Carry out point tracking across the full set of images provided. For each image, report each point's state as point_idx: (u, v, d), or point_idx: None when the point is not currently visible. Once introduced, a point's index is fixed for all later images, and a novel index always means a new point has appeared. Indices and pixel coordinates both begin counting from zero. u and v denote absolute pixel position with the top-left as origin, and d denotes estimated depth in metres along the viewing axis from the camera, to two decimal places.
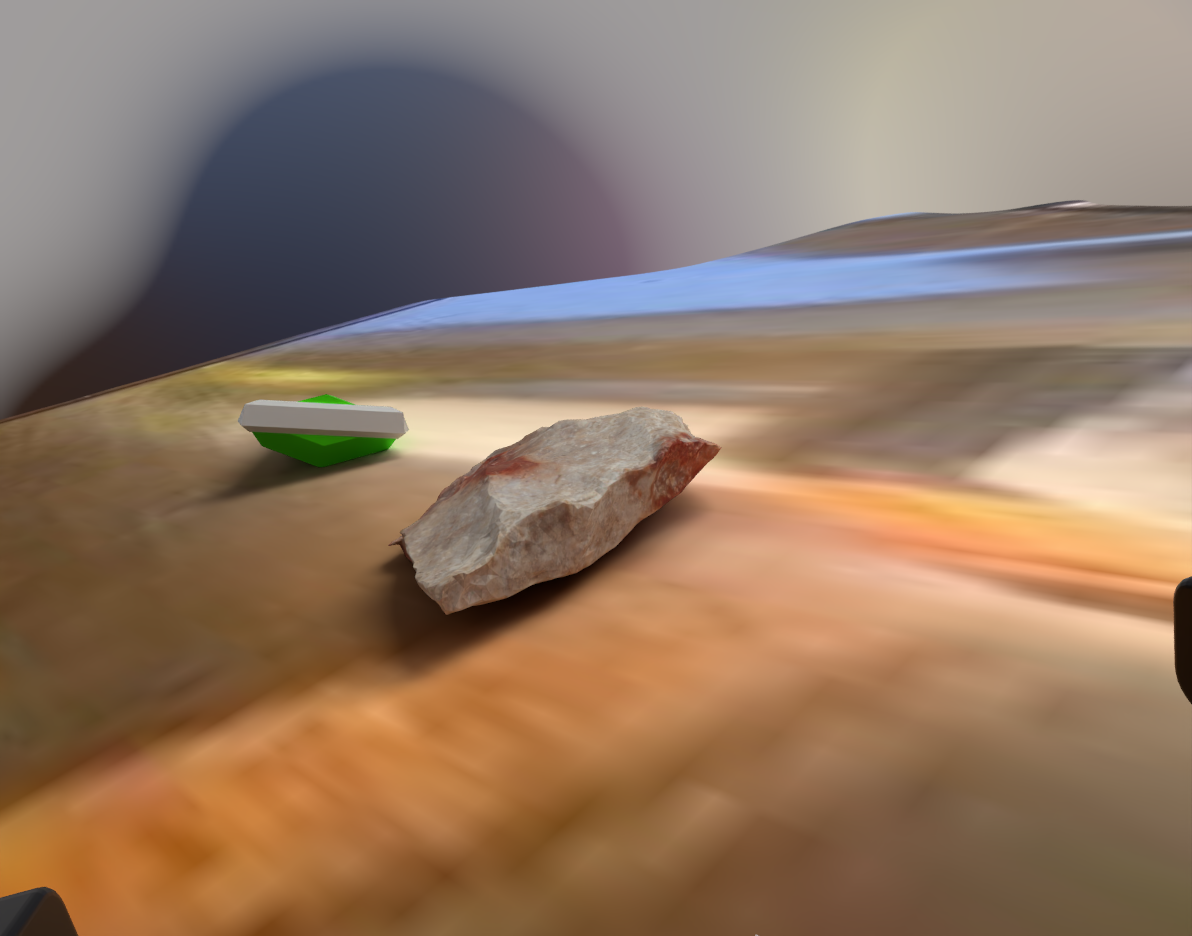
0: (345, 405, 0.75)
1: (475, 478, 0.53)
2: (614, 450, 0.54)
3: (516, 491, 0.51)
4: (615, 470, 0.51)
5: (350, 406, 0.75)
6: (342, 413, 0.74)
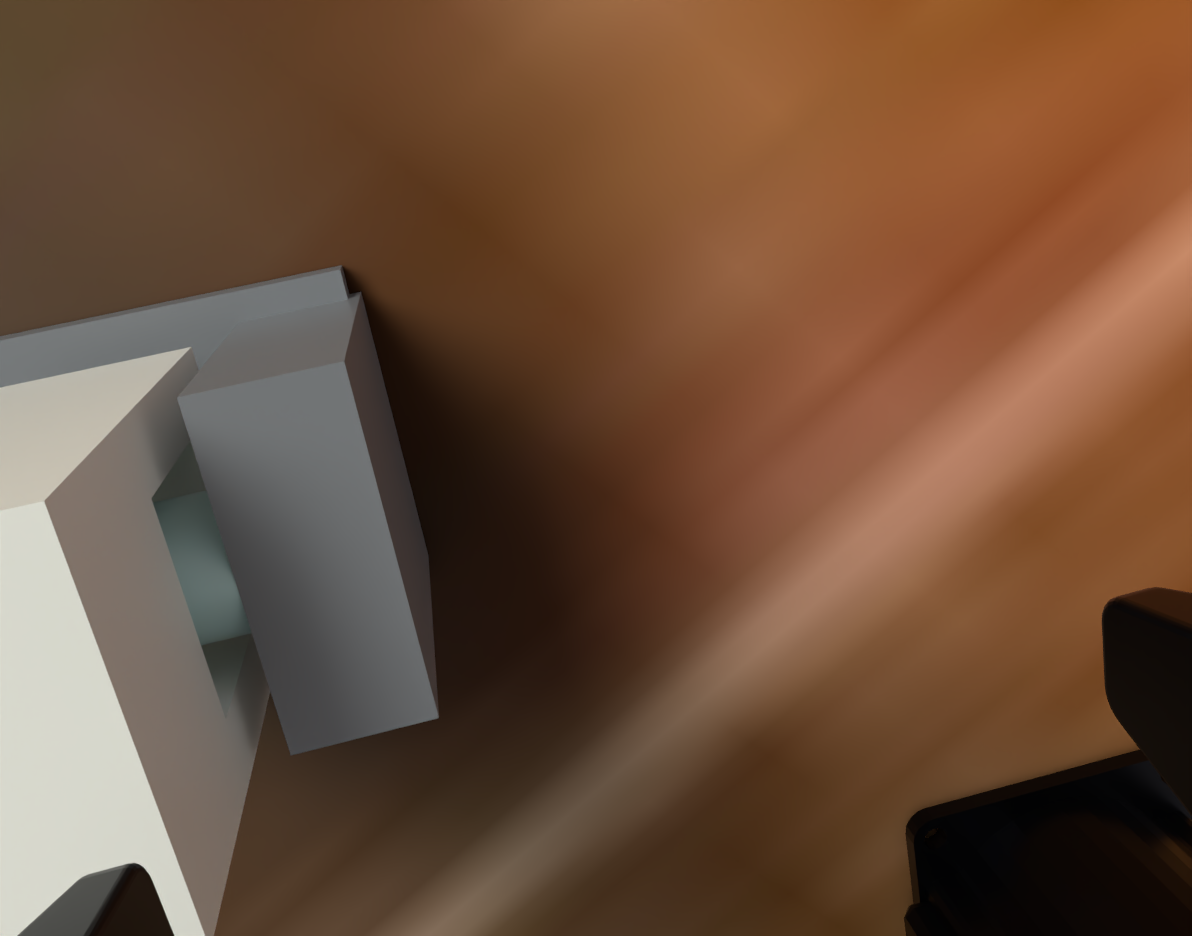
0: None
1: None
2: None
3: None
4: None
5: None
6: None
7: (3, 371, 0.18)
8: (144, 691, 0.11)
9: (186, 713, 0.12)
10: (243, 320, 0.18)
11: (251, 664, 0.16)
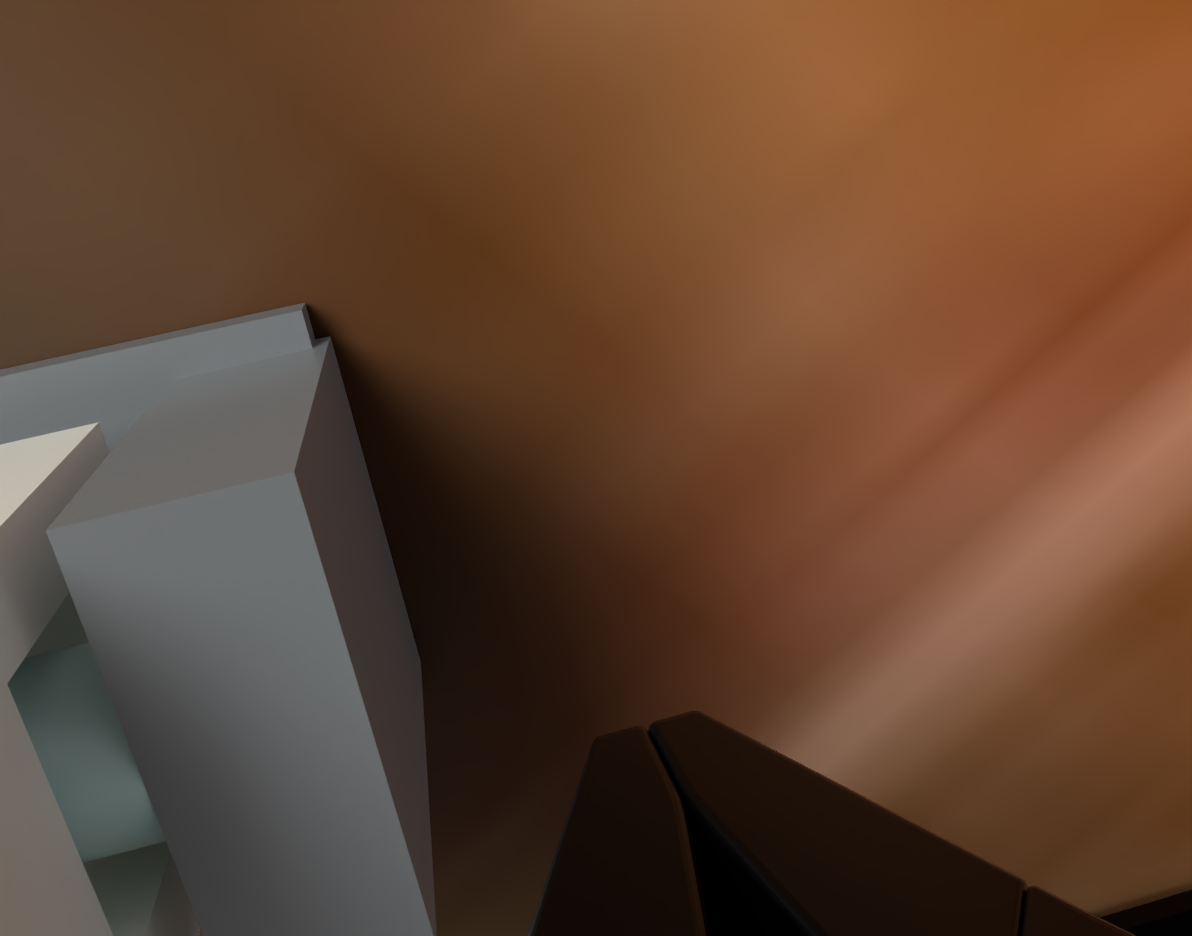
0: None
1: None
2: None
3: None
4: None
5: None
6: None
7: None
8: None
9: None
10: (175, 377, 0.14)
11: None
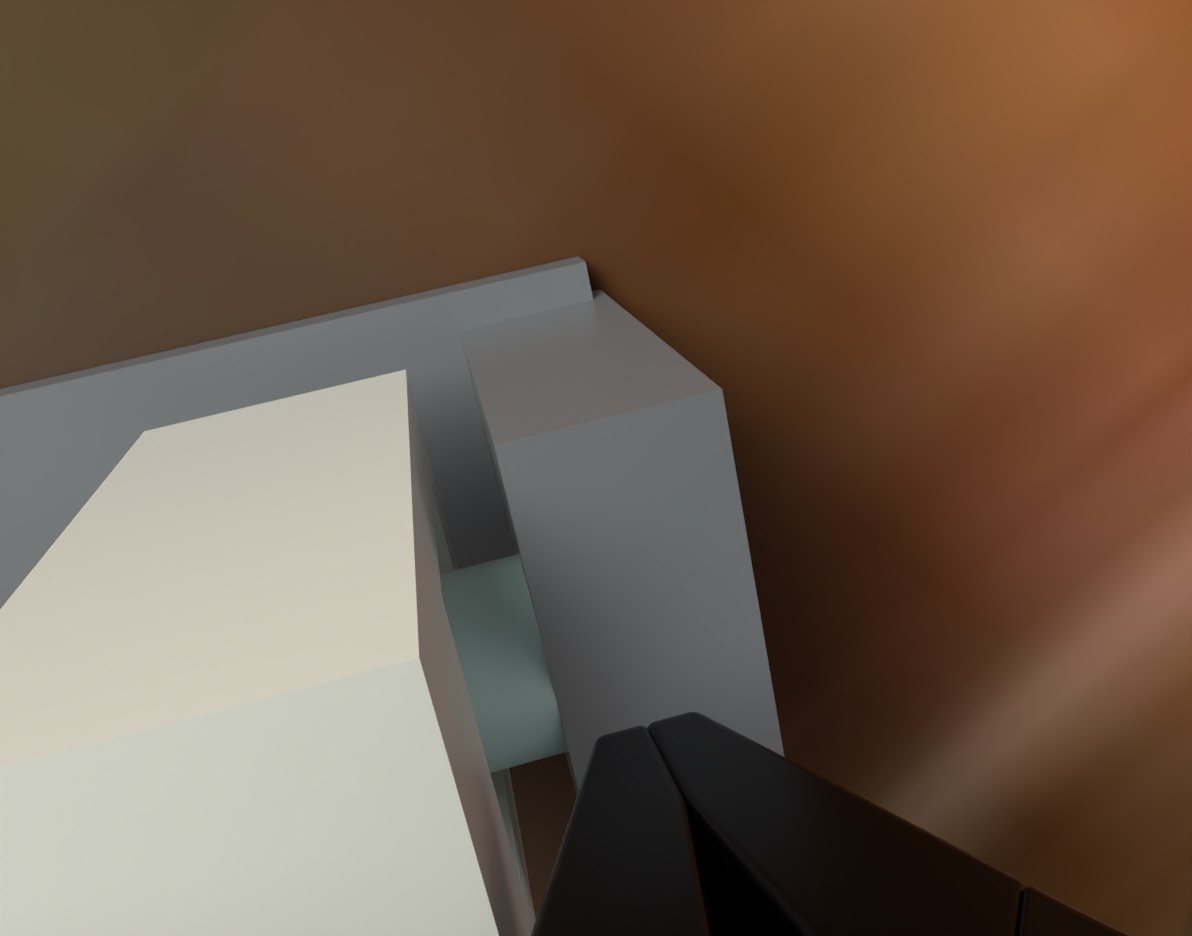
0: None
1: None
2: None
3: None
4: None
5: None
6: None
7: (164, 398, 0.14)
8: (504, 912, 0.07)
9: (517, 914, 0.09)
10: (463, 328, 0.14)
11: (507, 789, 0.12)
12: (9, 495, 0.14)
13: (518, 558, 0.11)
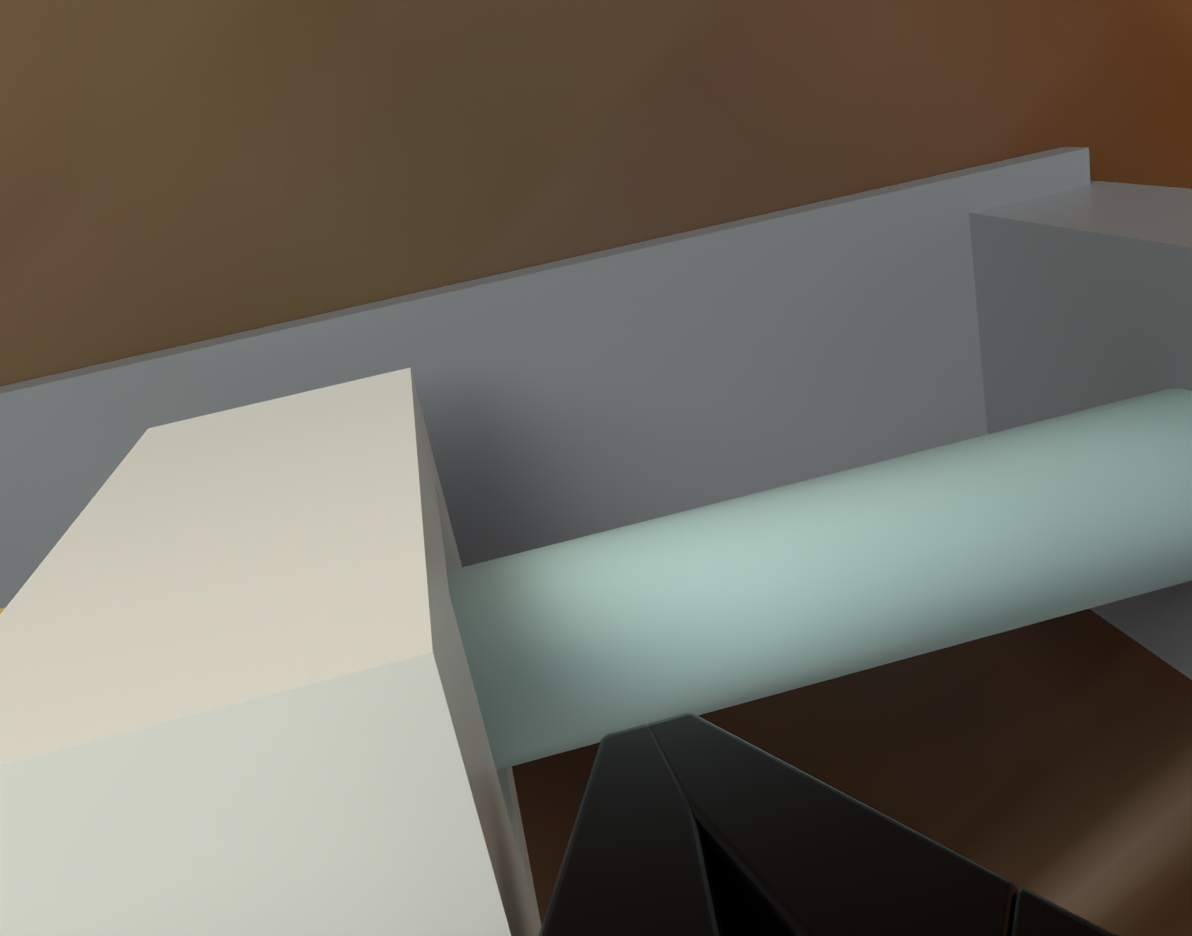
0: None
1: None
2: None
3: None
4: None
5: None
6: None
7: (702, 272, 0.15)
8: (513, 909, 0.07)
9: (523, 909, 0.09)
10: (973, 210, 0.15)
11: (511, 787, 0.12)
12: (553, 365, 0.15)
13: (1182, 389, 0.12)
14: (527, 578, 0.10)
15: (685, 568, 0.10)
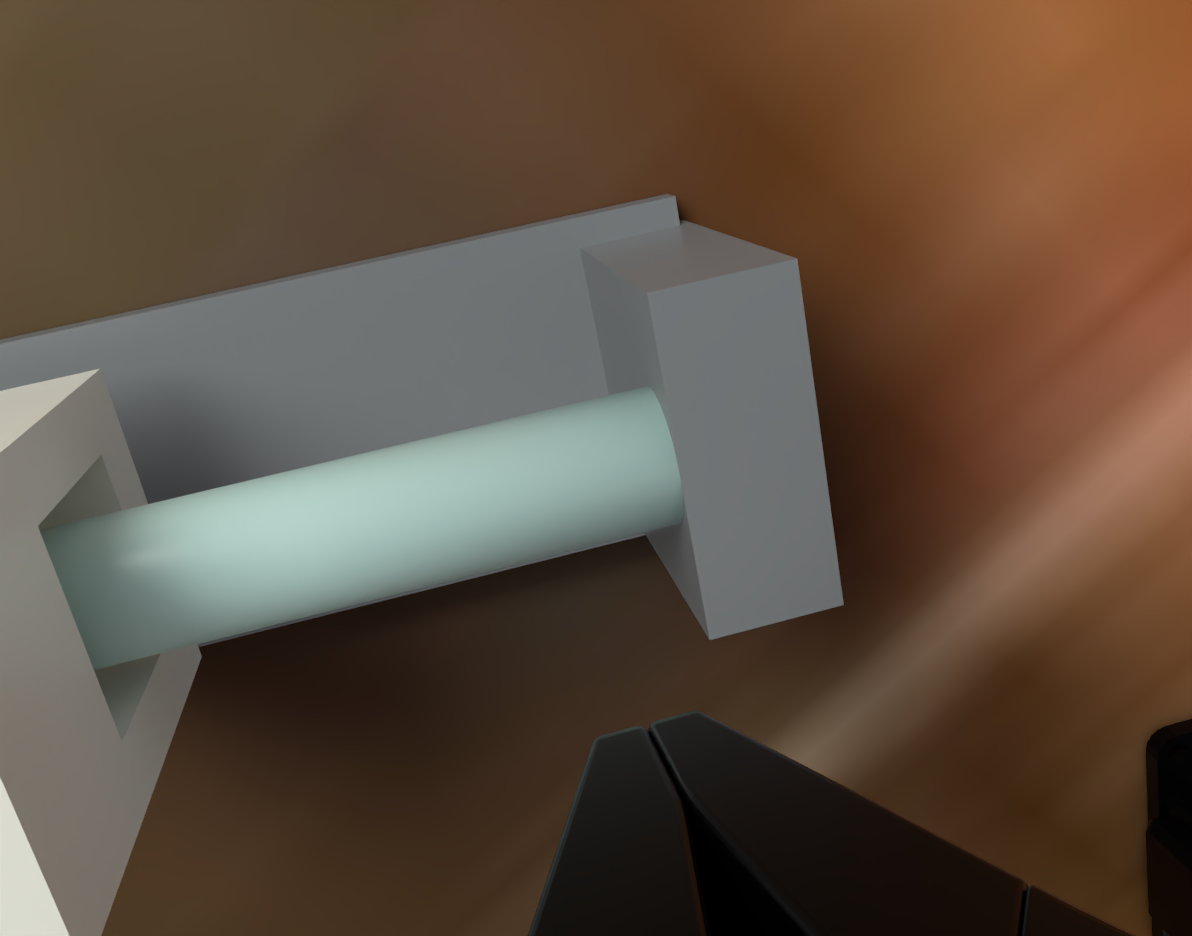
0: None
1: None
2: None
3: None
4: None
5: None
6: None
7: (361, 294, 0.19)
8: (17, 721, 0.11)
9: (71, 739, 0.13)
10: (583, 245, 0.19)
11: (159, 684, 0.16)
12: (244, 367, 0.19)
13: (648, 386, 0.15)
14: (132, 521, 0.14)
15: (244, 514, 0.14)
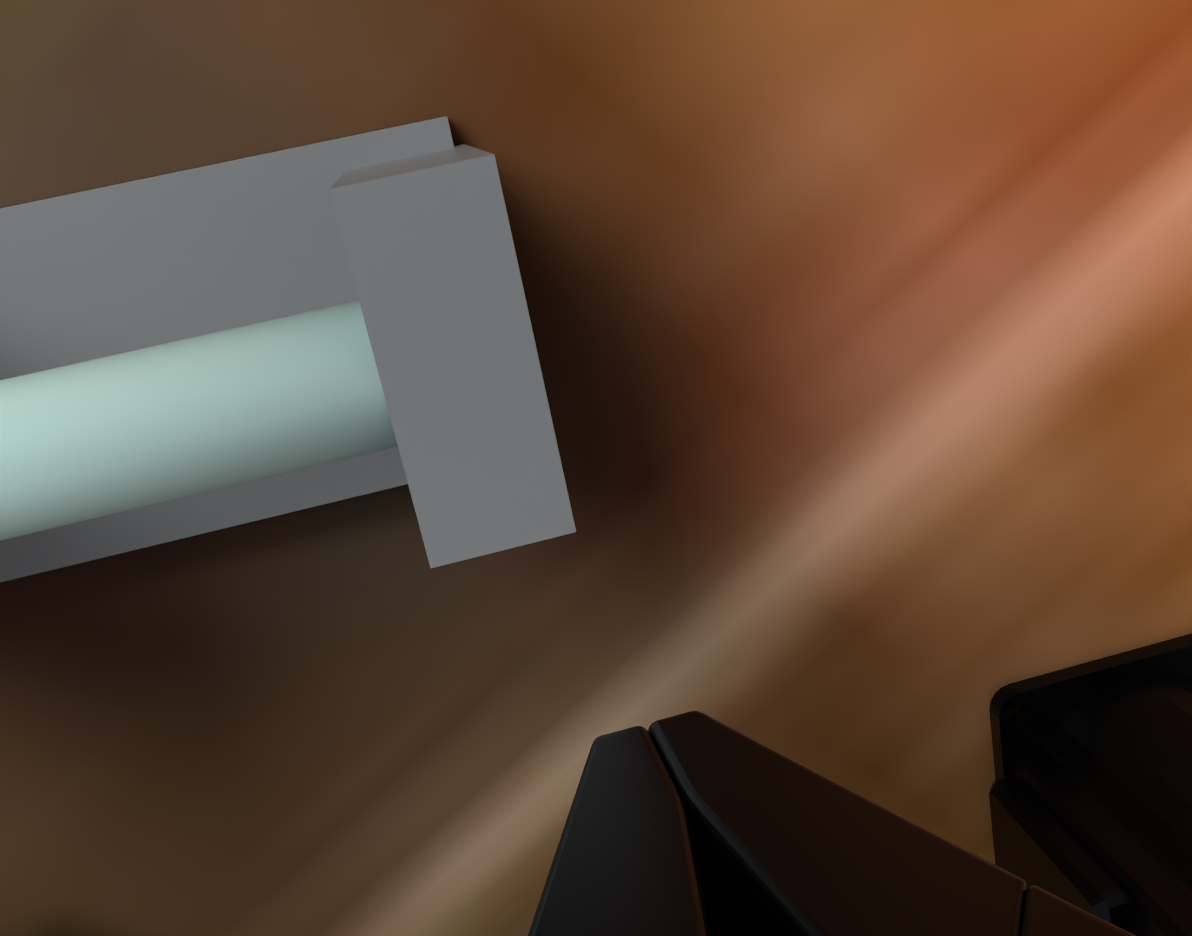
0: None
1: None
2: None
3: None
4: None
5: None
6: None
7: (112, 218, 0.18)
8: None
9: None
10: (350, 167, 0.18)
11: None
12: None
13: None
14: None
15: None
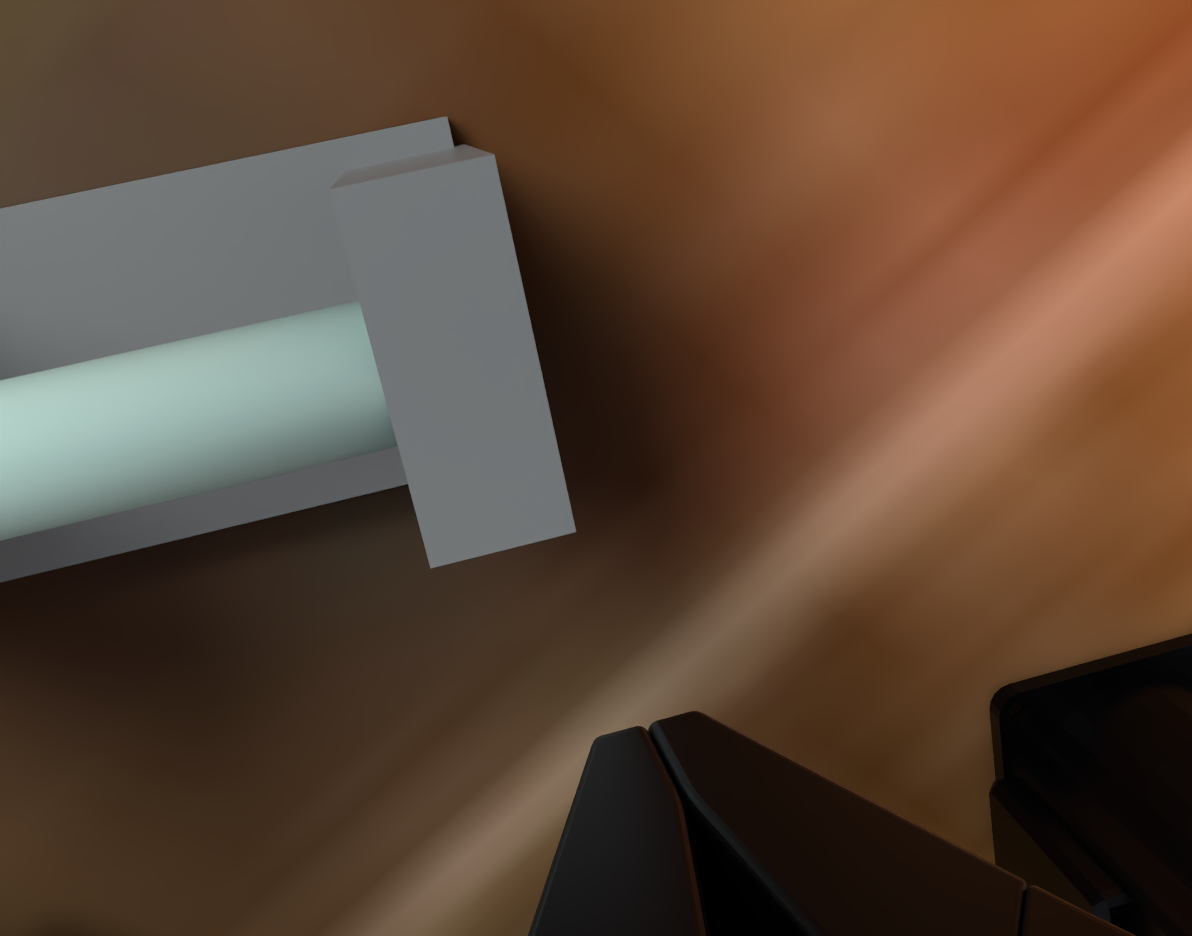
0: None
1: None
2: None
3: None
4: None
5: None
6: None
7: (112, 218, 0.18)
8: None
9: None
10: (350, 167, 0.18)
11: None
12: None
13: None
14: None
15: None
